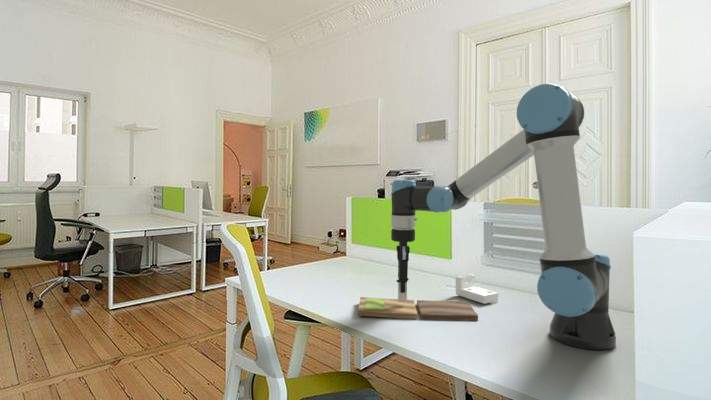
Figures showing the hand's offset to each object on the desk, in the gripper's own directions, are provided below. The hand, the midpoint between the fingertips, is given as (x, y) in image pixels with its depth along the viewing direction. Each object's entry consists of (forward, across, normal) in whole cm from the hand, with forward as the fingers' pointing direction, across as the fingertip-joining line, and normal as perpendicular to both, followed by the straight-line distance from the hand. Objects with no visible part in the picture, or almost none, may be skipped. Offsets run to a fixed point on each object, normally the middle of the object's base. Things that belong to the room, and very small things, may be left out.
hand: (402, 301), depth 125 cm
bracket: (+4, +15, -27) cm, 31 cm away
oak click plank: (+3, 0, +5) cm, 6 cm away
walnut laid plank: (+3, 0, -14) cm, 14 cm away
